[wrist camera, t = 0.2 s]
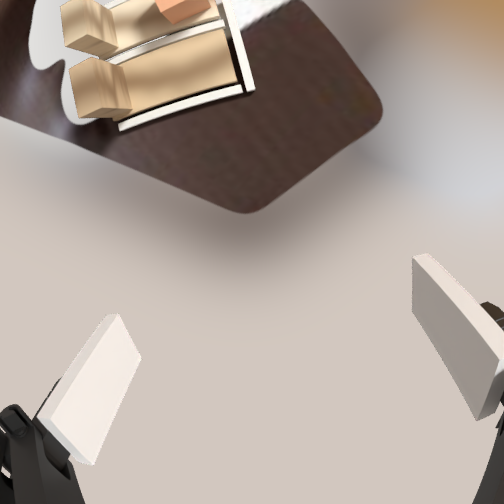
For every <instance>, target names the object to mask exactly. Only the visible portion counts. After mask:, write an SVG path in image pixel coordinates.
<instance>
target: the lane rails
mask: <svg viewBox="0 0 504 504" xmlns="http://www.w3.org/2000/svg"><path fill="white" fill-rule="evenodd" d="M127 1H129V0H114V1H112V2H110V3H108V4H106V5H104V7H105V8H107V9H109V10H110V9H112V8H114V7H116V6H118V5H120V4H123V3H125V2H127ZM222 2H223V6H224V9H225V13H226V16H227V20H228V23H229V27H230V30H231V34H232V38H233V41H234V45H235V49H236V52H237V56H238V60H239V63H240V67H241V71H242V75H243V79H244V82H245V86H246V90H247V92H250V91H254V90H255V86H254V82H253V78H252V75H251V71H250V67H249V63H248V60H247V56H246V52H245V49H244V45H243V41H242V38H241V34H240V31H239V27H238V24H237V20H236V17H235V13H234V10H233V6H232V3H231V0H222ZM225 28H226V27H225V23H224V20H223V19H222V20H218V21H215V22H211V23H207V24H204V25H200V26H197V27H194V28H191V29H187V30H184V31H181V32H178V33H175V34H172V35H169V36H167V37H164V38H161V39H158V40H156V41H153V42H151V43H148V44H145V45H143V46H140V47H138V48H136V49H133V50H131V51H128V52H126V53H124V54H122V55H119V56H117V57H115V58H113V59H111V60H109V61H106V62H109V63H112V64H115V65H120V64H122V63H125V62H127V61H129V60H132V59H134V58H137V57H139V56H142V55H144V54H147V53H149V52H152V51H154V50H157V49H160V48H162V47H165V46H168V45H171V44H174V43H177V42H180V41H183V40H186V39H189V38H192V37H195V36H199V35H202V34H206V33H209V32H213V31H216V30H220V29H225ZM241 93H243V90H242V86H241V84H240V85H236V86H232V87H228V88H224V89H220V90H216V91H213V92H209V93H206V94H202V95H199V96H195V97H192V98H189V99H186V100H183V101H179V102H176V103H173V104H170V105H167V106H164V107H161V108H159V109H156V110H153V111H150V112H147V113H145V114H142V115H139V116H137V117H134V118H131V119H129V120H126V121H124V122H121V123H119V124H118V126H119V130H120V131H124V130H126V129H129V128H131V127H134V126H137V125H139V124H142V123H145V122H148V121H150V120H153V119H156V118H159V117H162V116H165V115H168V114H171V113H174V112H177V111H180V110H183V109H187V108H190V107H193V106H197V105H200V104H203V103H207V102H210V101H214V100H218V99H221V98H225V97H229V96H233V95H237V94H241Z"/></svg>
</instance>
